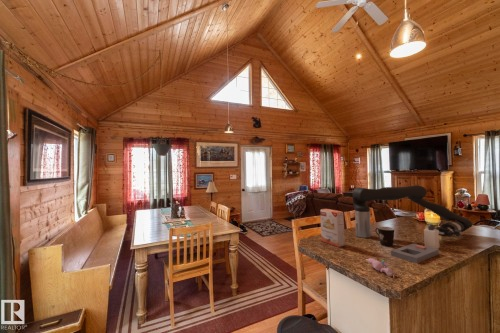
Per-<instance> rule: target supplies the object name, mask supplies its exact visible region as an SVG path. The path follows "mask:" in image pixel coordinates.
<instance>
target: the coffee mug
mask: <svg viewBox="0 0 500 333" xmlns="http://www.w3.org/2000/svg"><path fill="white" fill-rule="evenodd" d="M374 230H375V233H376V235H377V236H378V238H379V242H380V245H381V246H382V247H387V248H388V247H389V248H390V247H391V248H392V247H393V246H394V240H395V228H393V227H390V226H378V227H376V228H375V229H374Z"/></svg>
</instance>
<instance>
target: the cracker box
mask: <svg viewBox="0 0 500 333" xmlns="http://www.w3.org/2000/svg"><path fill="white" fill-rule="evenodd" d="M319 211H320V212H319V213H320V236H321V242H323V243H326V244H328V245H332V246H334V247H337V248H340V247H344V246H345V245H346V240H345V237H346V236H345V219H344V211H340V210H336V209H330V208H321V209H320V210H319Z"/></svg>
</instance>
